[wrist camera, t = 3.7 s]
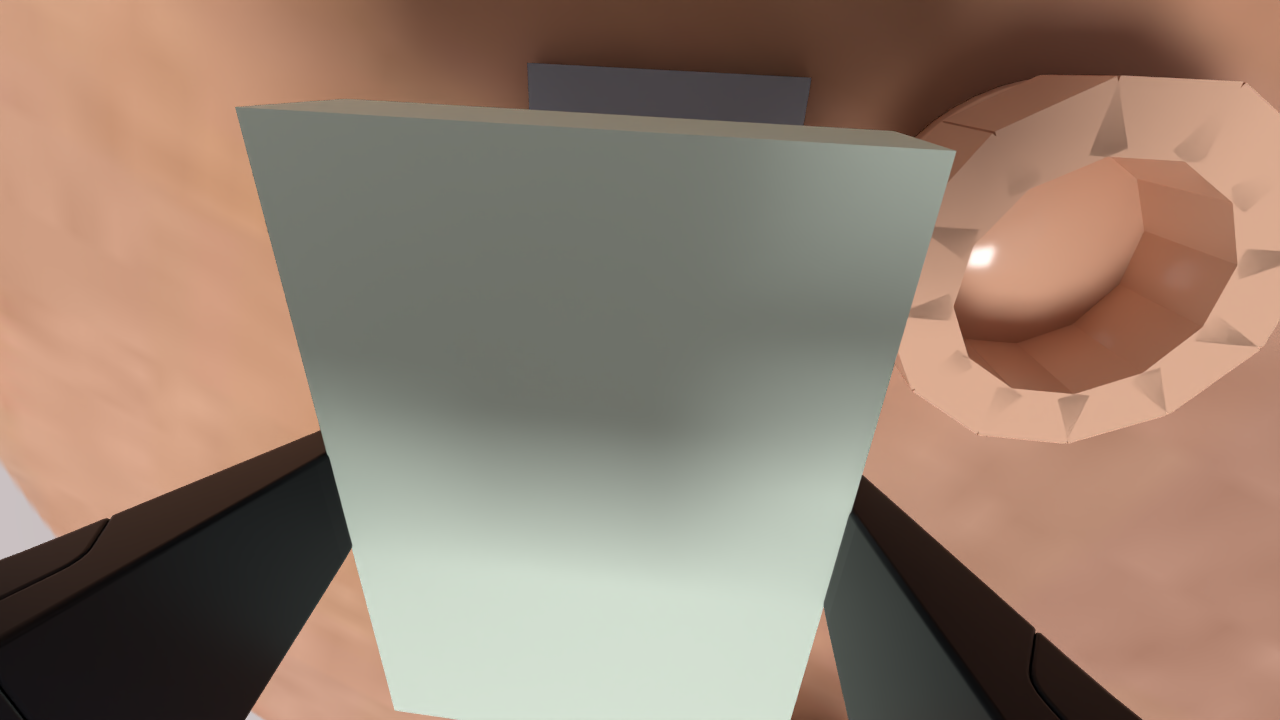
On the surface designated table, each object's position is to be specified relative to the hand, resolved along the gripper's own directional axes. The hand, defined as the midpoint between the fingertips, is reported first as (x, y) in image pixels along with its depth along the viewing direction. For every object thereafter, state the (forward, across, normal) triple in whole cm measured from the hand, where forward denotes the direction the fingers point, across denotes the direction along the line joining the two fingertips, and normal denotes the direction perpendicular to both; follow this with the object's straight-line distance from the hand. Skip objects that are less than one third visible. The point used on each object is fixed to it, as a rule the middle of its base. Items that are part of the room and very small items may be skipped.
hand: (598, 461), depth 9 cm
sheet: (0, 0, 0) cm, 0 cm away
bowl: (+11, -11, -2) cm, 16 cm away
